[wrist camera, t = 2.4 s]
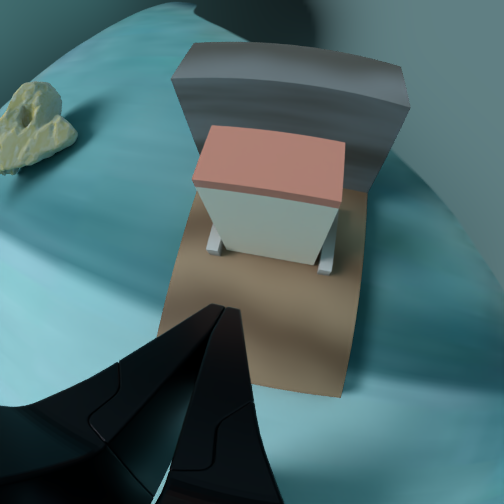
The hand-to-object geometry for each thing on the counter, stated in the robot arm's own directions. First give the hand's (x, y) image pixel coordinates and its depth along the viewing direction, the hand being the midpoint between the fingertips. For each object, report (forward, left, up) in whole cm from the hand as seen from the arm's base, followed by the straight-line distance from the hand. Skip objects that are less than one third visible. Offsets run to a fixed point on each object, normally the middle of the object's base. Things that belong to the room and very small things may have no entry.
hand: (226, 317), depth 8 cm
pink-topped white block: (+6, -2, -11) cm, 13 cm away
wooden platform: (+6, -2, -13) cm, 14 cm away
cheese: (+20, +27, -13) cm, 36 cm away
